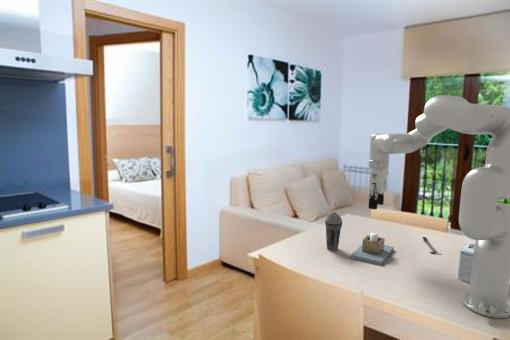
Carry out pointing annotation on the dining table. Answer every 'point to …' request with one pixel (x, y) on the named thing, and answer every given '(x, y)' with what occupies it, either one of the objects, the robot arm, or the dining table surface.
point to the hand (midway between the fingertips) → (376, 206)
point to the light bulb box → (466, 262)
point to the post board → (371, 257)
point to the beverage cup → (333, 230)
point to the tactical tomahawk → (430, 246)
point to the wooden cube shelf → (373, 245)
